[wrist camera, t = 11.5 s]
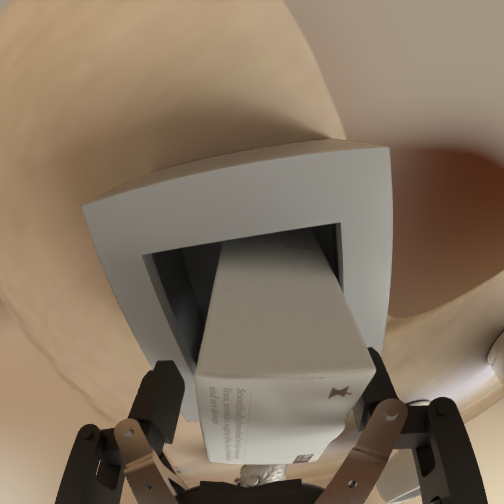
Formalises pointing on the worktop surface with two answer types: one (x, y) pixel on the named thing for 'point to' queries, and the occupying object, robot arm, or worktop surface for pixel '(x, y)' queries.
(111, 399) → the worktop surface
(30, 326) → the worktop surface
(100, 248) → the open gray box
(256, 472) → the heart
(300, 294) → the skincare box
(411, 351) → the worktop surface
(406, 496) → the chalice
